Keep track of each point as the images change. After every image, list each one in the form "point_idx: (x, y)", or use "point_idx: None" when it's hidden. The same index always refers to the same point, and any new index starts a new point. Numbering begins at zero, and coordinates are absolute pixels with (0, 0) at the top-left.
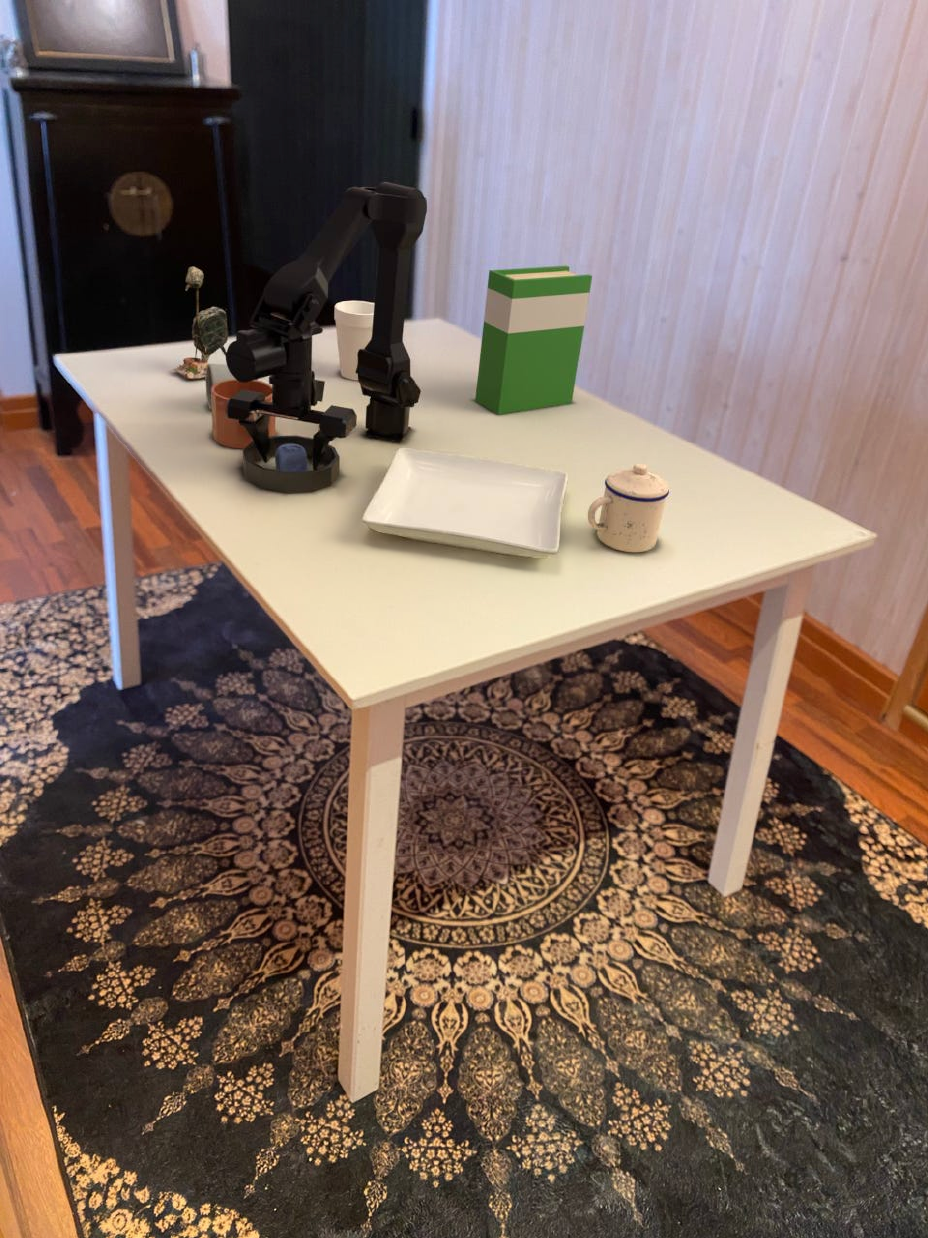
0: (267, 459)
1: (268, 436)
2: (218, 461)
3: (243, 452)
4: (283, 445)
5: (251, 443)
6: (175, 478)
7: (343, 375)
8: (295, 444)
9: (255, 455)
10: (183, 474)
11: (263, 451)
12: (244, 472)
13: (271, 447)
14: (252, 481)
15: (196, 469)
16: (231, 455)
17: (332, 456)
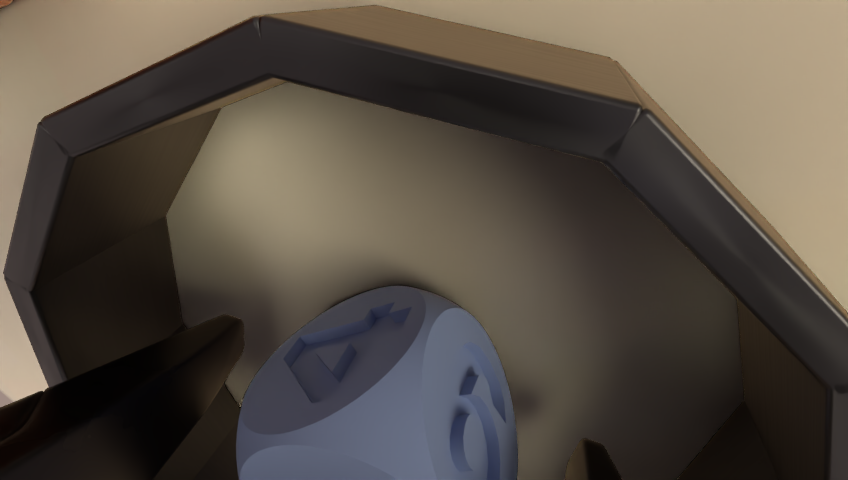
0: (232, 357)
1: (69, 442)
2: None
3: None
4: (260, 471)
5: (28, 318)
6: (23, 395)
7: None
8: (353, 460)
9: (133, 242)
10: (18, 368)
11: (174, 450)
12: None
13: (155, 149)
14: None
15: (18, 327)
16: (14, 149)
17: (788, 388)
